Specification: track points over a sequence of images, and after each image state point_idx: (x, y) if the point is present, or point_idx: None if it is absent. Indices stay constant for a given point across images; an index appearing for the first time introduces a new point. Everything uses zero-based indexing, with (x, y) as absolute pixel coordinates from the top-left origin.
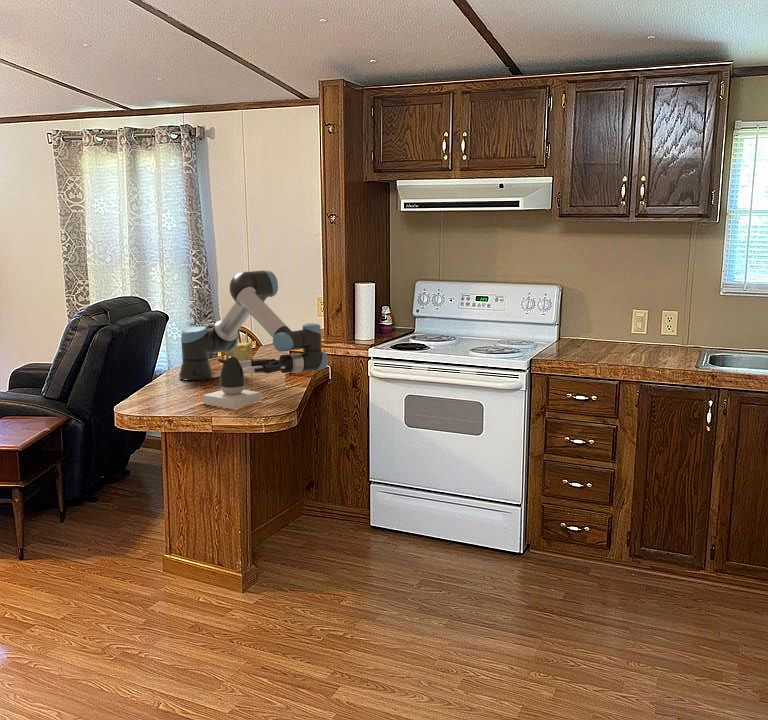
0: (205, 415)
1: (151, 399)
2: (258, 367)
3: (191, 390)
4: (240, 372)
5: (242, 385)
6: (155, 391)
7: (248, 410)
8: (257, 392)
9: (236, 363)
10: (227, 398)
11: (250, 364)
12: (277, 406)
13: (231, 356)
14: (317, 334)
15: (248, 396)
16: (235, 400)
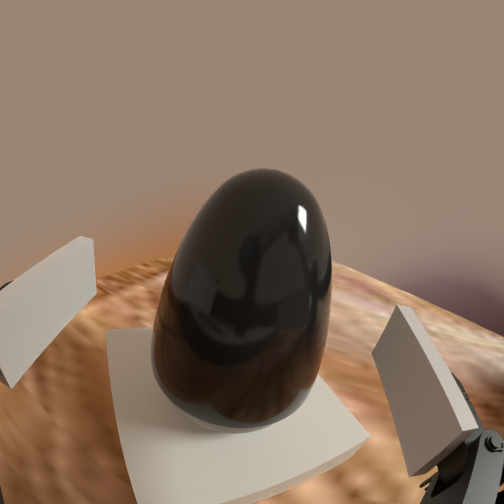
0: (130, 291)
1: (377, 298)
2: (3, 303)
3: (464, 375)
4: (167, 296)
5: (153, 373)
6: (448, 322)
7: (58, 384)
8: (152, 502)
9: (198, 216)
10: (146, 332)
11: (427, 452)
12: (5, 492)
13: (266, 168)
14: None
15: (116, 417)
16: (106, 342)
